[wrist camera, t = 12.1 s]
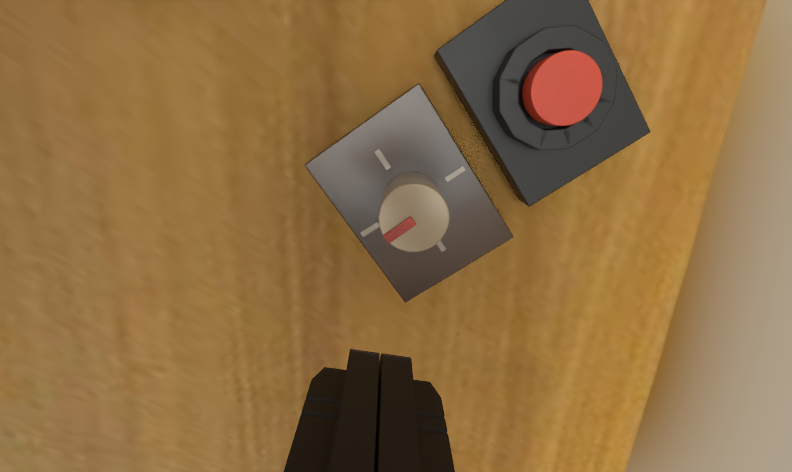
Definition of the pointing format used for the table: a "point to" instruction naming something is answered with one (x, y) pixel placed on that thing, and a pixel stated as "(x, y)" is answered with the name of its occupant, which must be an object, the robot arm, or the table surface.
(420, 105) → the dial panel
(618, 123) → the button housing
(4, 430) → the table surface
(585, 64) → the red push button
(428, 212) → the lock dial
